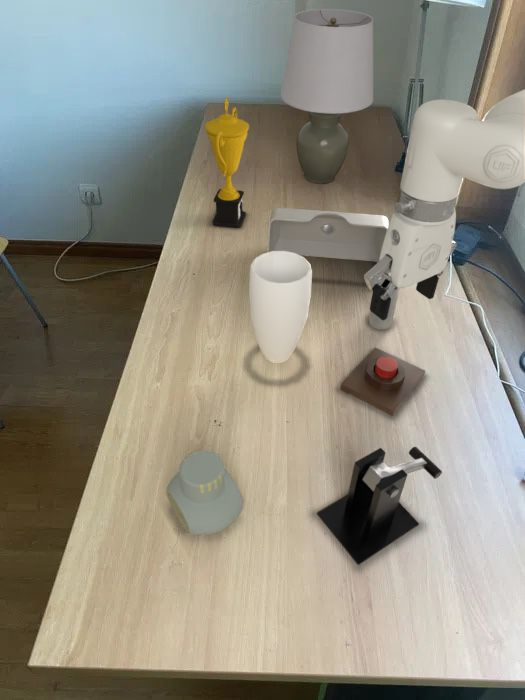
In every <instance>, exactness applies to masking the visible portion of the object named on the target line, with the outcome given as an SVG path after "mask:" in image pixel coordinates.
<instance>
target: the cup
mask: <svg viewBox="0 0 525 700" xmlns="http://www.w3.org/2000/svg"><path fill="white" fill-rule="evenodd" d="M312 277H313V269H312V266H311V263H310V262H309V261H308V260H307V259H306V258H305V256H302V255H298V254H296V253H293V252H287V251H271V252H267V251H266V252H263V253H261V254H260V255H257V257H255V258H254V259H253V261H252V262H251V264H250V266H249V280H248V281H249V284H248V285H249V286H248V295H249V313H250V314H249V315H250V321H251V326H252V330H253V333H254V337H255V340H256V343H257V345H258V347H259V350H260V352H261V353H262V355H263V357H264V359H266V361H268V362H269V363H273V364H282V363H285V362H287V361H288V360H289V359H290V357H292V355H293V353H294V352H295V350H296V348H297V346H298V344H299V342H300V340H301V337H302V335H303V333H304V329H305V326H306V323H307V321H308V317H309V311H310V305H311V297H312V280H313V279H312Z"/></svg>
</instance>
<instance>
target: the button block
mask: <svg viewBox="0 0 525 700" xmlns="http://www.w3.org/2000/svg"><path fill="white" fill-rule="evenodd" d="M381 357H390V358H392V359H394V360H395V361H396V362H397V364H398V368H397V372H396V375H395V376H394V377H392V378H389V379H387V378H382V377H380V376H378V375H377V374H376V372H375V367H376V362H377V360H378V359H379V358H381ZM425 374H426V370H425V369H422V368H420V367H418V366H416V365H414V364H412V363H410V362H408V361H405V360H403V359H401V358H399V357H397V356H395V355H393V354H390V353H388V352H386V351H385V350H382V349H380V348H378V347H374V348H373V349H372V350H371V351H370V352H369V354H368V355H367V356H366V357H365V358H364V359H363V360H362V361H361V362H360V363H359V364H358V366H357V367H355V369H353V371H352V372H351V373H350V374H349V375H348V377H346V379H345V380H344V381H343V382H342V383H341V384H340V385H341V386H340V391H342V392H344V393H346V394H348V395H351V396H352V397H355V398H357V399H359V400H361V401H363V402H365V403H367V404H369V405H370V406H372V407H374V408H376V409H378V410H380V411H381V412H384V413H386V414H388V415H390V416H392V417H393V416H394V415H396V413H397V411H398V410H399V409H400V408H401V406H402V405H403V403H405V401H406V400H407V398H409V395H411V393H412V392H413V391H414V389H415V388H416V387H417V386H418V385H419V383H420V382H421V380H423V378H424V377H425Z"/></svg>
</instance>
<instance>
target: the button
mask: <svg viewBox="0 0 525 700" xmlns="http://www.w3.org/2000/svg"><path fill="white" fill-rule="evenodd" d="M397 368H398V364H397V362H396V361H395V360H394V359H392V358H390V357H381V358H379V359H378V360H377V362H376V367H375V372H376V374H377V375H378V376H380V377H382V378H387V379H389V378H392V377H394V376H395V375H396V372H397Z"/></svg>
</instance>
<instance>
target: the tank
mask: <svg viewBox="0 0 525 700" xmlns="http://www.w3.org/2000/svg"><path fill="white" fill-rule="evenodd" d="M388 226H389V219H388V217H387V216H385V215H383V214H371V213H354V212H343V211H330V210H329V211H328V210H317V209H315V210H313V209H304V208H303V209H301V208H289V207H275V208H273V209H272V211H271V214H270V217H269V222H268V232H267V233H268V234H267V246H266V247H267V248H266V249H267V251H266V253H267V252H271V251H287V252H293V253H296V254H298V255H300V256H302V257H316V258H318V257H319V258H326V259H327V258H329V259H340V260H341V259H342V260H353V261H367V262H375V263H378V262H379V258H380V254H381V249H382V245H383V242H384V238H385V235H386V232H387V229H388Z"/></svg>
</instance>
